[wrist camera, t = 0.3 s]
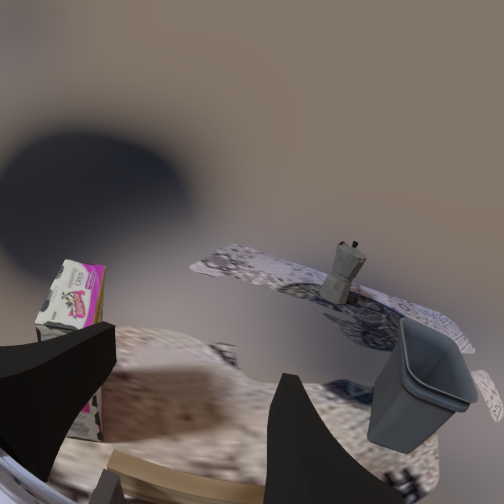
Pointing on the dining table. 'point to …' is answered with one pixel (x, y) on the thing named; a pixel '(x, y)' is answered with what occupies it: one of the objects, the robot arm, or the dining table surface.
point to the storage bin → (418, 388)
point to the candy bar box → (76, 327)
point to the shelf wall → (177, 484)
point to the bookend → (108, 490)
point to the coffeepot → (342, 273)
